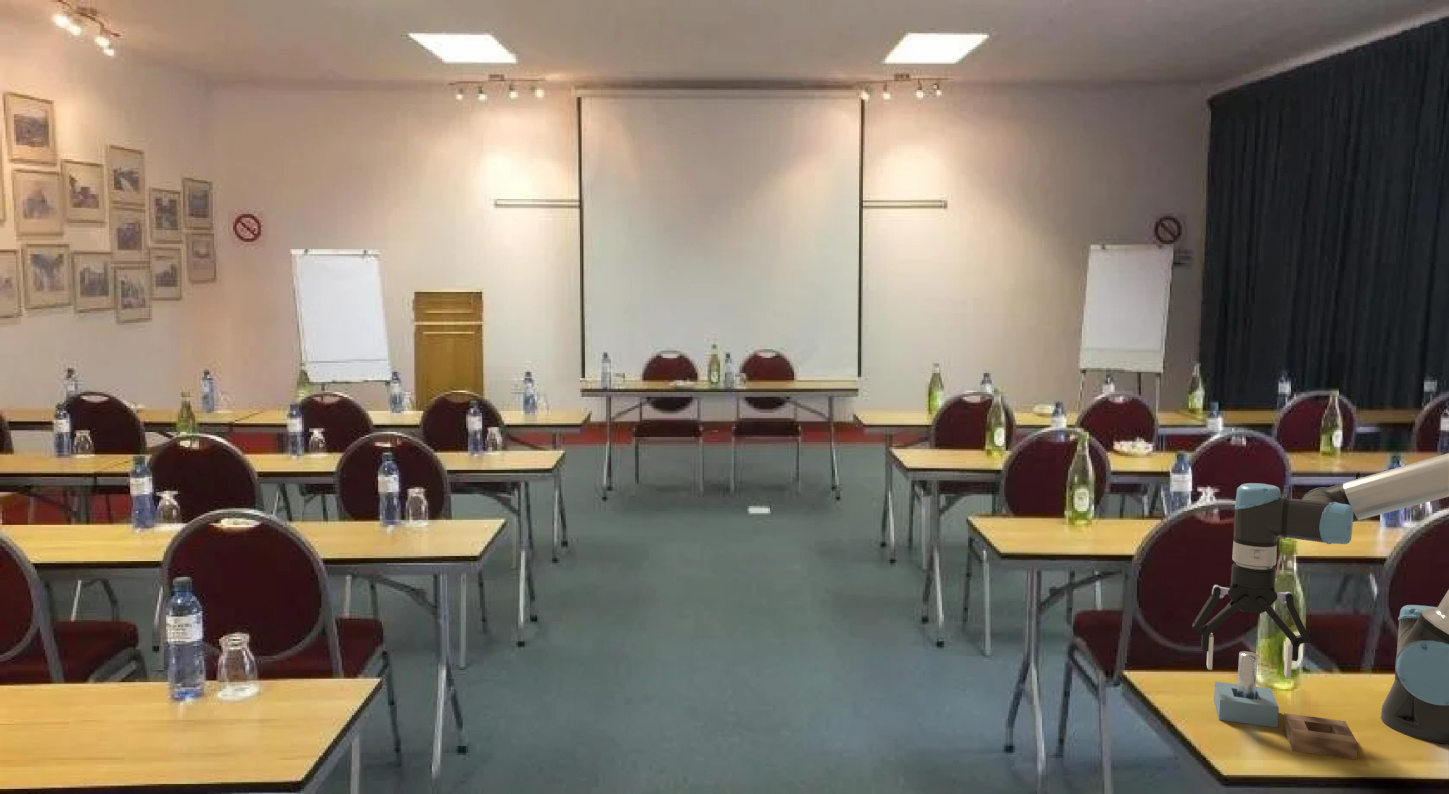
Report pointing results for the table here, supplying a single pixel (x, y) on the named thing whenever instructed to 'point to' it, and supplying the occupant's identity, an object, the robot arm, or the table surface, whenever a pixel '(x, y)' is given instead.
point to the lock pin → (1247, 675)
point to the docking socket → (1246, 705)
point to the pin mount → (1320, 736)
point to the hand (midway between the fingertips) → (1247, 672)
